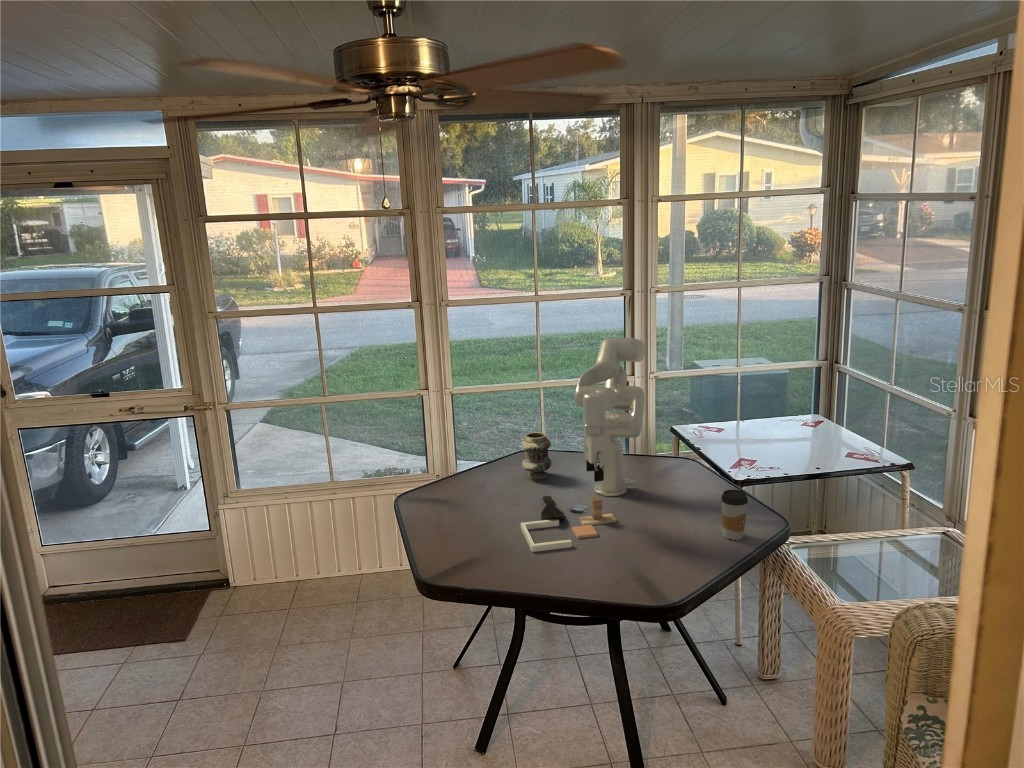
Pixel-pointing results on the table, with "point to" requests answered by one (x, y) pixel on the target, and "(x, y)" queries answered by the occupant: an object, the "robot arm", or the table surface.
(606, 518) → the tan l-shaped bookend
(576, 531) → the tile
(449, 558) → the table surface
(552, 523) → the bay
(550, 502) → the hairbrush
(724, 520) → the coffee cup
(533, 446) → the carved stone vase
